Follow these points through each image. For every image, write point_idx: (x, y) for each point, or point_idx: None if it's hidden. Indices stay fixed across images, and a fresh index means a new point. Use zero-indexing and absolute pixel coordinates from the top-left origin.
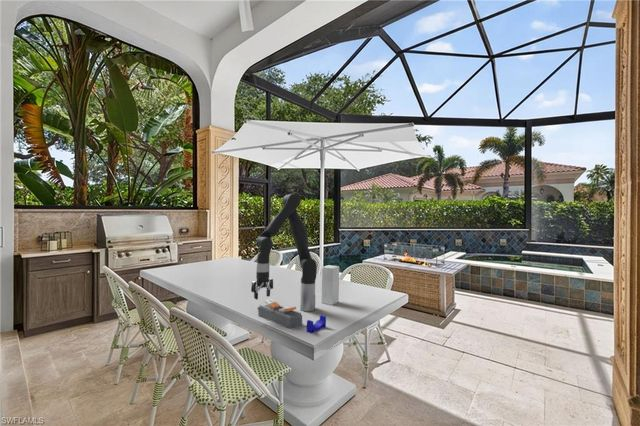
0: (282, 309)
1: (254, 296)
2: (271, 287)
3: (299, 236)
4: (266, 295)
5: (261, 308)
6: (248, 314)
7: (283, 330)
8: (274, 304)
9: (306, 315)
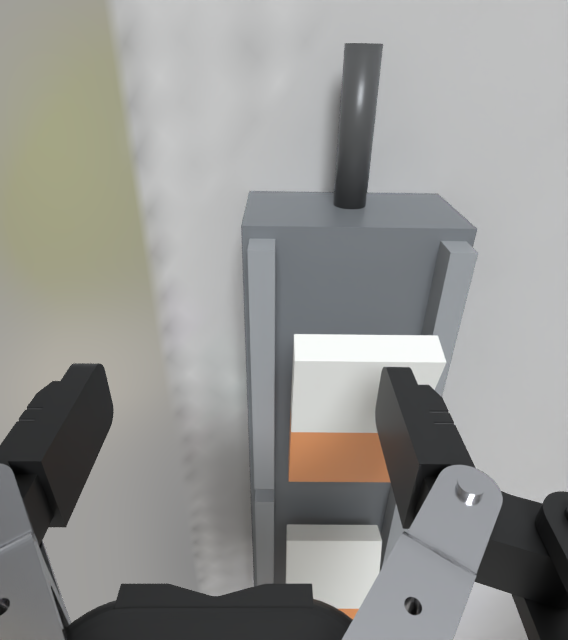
0: (286, 583)
1: (30, 416)
2: (515, 599)
3: None
4: (384, 370)
5: (244, 292)
6: (173, 46)
7: (206, 539)
8: (345, 458)
9: (548, 478)
